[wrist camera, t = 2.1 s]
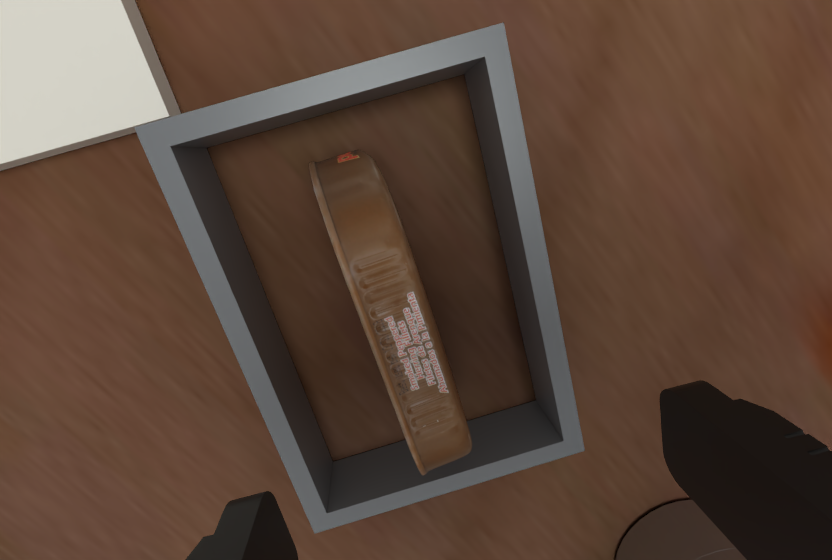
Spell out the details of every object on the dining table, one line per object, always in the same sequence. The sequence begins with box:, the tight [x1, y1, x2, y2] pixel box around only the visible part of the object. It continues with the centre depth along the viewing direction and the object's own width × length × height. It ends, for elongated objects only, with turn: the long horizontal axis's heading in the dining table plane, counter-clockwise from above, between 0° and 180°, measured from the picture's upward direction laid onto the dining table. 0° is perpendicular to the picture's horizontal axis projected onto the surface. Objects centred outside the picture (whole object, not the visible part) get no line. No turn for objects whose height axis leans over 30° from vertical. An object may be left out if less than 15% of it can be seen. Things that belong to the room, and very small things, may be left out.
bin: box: [134, 23, 585, 533], centre depth 22 cm, size 15×21×4 cm
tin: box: [309, 150, 472, 475], centre depth 20 cm, size 15×3×8 cm, turn 17°
